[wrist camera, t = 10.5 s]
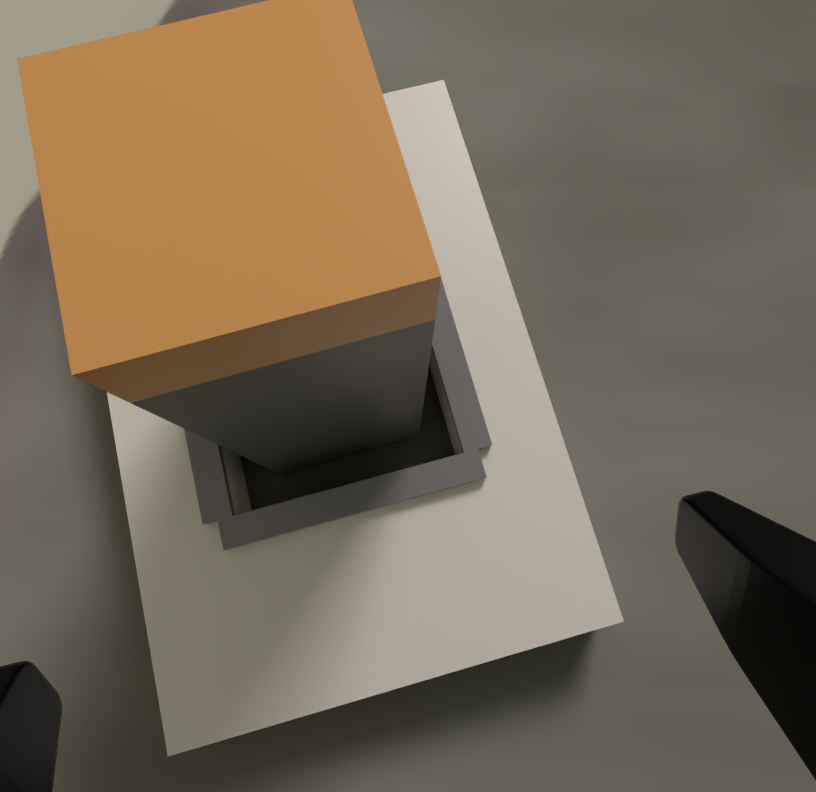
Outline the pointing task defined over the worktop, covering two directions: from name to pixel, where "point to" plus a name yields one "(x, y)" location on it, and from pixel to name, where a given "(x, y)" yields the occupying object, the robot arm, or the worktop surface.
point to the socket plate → (371, 514)
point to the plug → (238, 230)
